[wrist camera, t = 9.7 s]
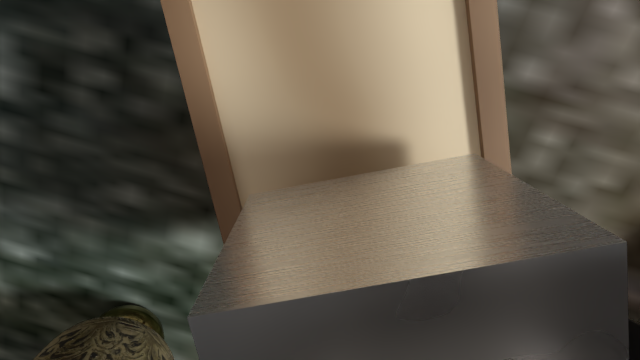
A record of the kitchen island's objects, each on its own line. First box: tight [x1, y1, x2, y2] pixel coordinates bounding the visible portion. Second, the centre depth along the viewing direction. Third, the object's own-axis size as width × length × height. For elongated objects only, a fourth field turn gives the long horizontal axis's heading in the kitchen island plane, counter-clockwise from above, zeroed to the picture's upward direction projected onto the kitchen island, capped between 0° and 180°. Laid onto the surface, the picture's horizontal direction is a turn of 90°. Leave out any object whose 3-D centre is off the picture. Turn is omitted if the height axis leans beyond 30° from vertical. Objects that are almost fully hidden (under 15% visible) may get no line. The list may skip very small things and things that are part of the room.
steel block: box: [187, 153, 629, 360], centre depth 8 cm, size 5×5×5 cm
